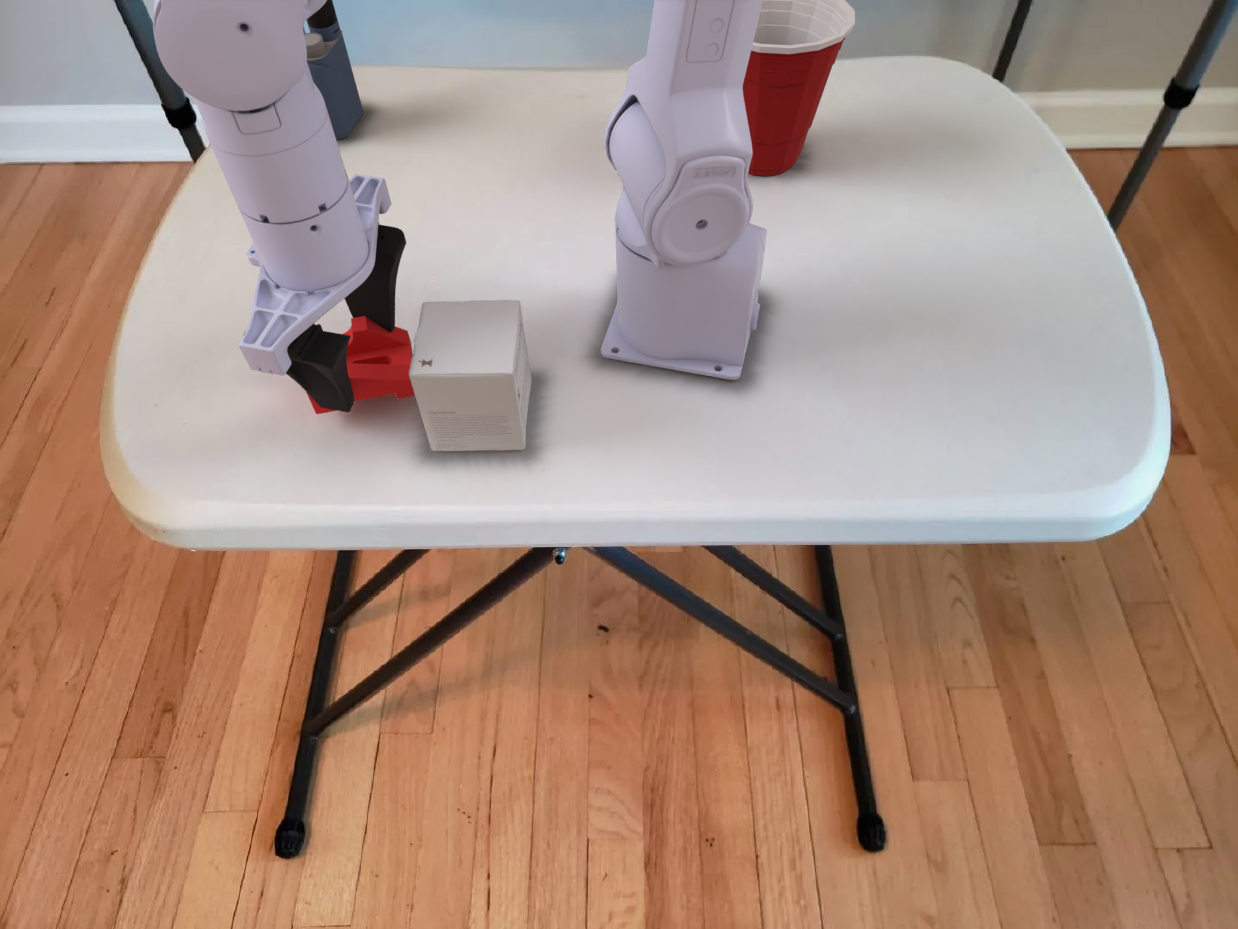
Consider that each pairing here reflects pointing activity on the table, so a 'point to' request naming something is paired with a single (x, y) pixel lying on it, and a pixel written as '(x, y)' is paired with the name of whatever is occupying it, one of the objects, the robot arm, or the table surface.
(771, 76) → the plastic cup
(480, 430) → the product box
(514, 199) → the table surface
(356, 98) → the vaping device
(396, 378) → the bracket
